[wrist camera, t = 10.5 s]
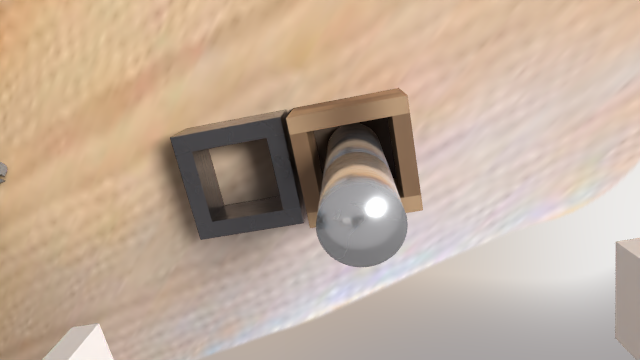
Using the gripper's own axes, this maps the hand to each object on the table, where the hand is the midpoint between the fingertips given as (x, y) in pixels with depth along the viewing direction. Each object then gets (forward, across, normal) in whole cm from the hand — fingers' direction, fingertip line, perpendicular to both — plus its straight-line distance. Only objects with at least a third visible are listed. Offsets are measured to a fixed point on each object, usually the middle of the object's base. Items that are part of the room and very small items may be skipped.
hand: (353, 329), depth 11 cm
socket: (+20, -6, 0) cm, 21 cm away
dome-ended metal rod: (+19, +1, 0) cm, 19 cm away
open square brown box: (+19, +1, 0) cm, 19 cm away
